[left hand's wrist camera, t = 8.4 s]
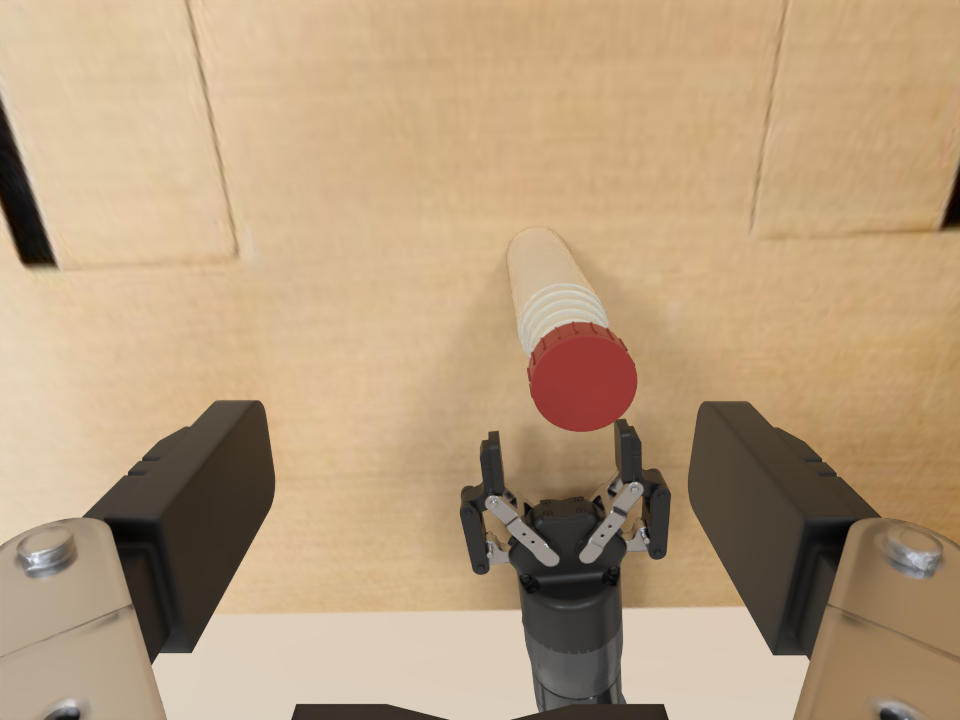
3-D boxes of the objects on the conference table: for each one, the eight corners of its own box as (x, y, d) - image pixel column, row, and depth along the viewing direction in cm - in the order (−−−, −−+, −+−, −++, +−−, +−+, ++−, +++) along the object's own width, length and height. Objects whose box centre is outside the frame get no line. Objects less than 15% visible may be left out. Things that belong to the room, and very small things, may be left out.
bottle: (501, 280, 42) (515, 420, 23) (513, 221, 40) (540, 318, 21) (558, 291, 42) (621, 438, 23) (572, 233, 41) (653, 339, 21)
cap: (517, 404, 24) (520, 424, 22) (540, 311, 22) (544, 325, 21) (612, 420, 24) (621, 441, 22) (641, 330, 22) (652, 345, 21)
